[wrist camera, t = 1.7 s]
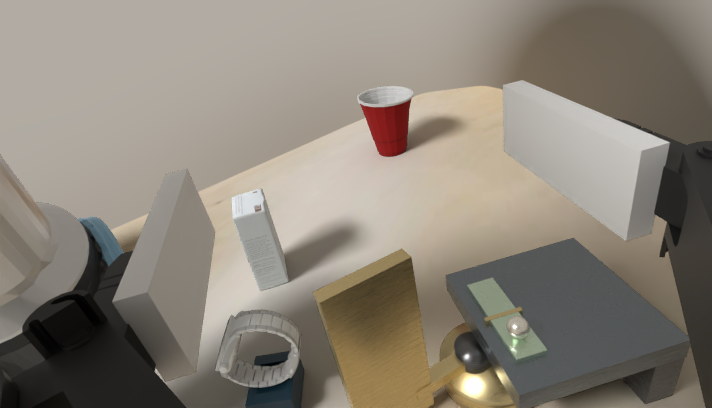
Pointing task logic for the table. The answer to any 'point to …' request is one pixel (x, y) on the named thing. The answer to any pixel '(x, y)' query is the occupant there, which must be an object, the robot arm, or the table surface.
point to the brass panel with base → (399, 344)
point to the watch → (264, 361)
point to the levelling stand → (566, 326)
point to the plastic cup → (387, 117)
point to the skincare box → (259, 239)
